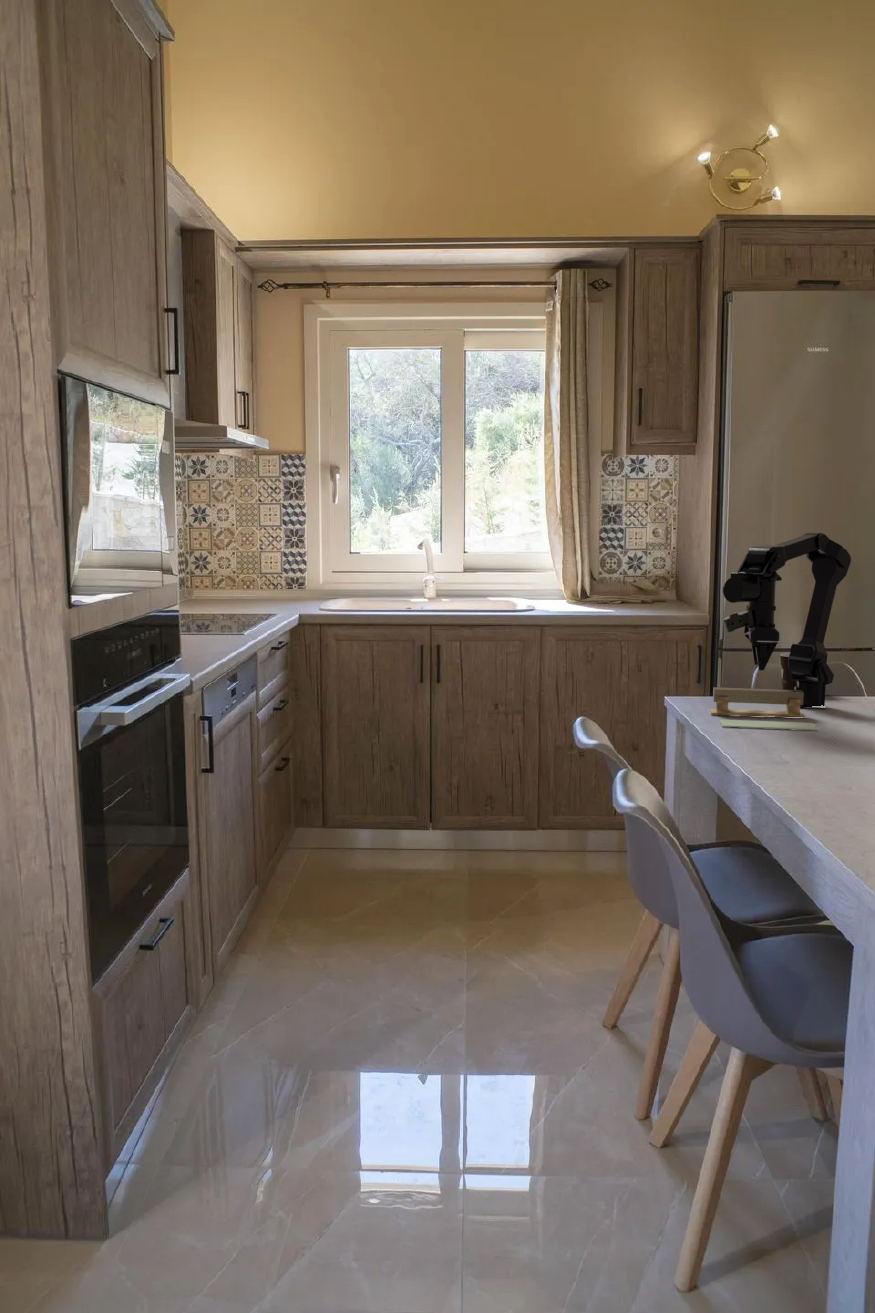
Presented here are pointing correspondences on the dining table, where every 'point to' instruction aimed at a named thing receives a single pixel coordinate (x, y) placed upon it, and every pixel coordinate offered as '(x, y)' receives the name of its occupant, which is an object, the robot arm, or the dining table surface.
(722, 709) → the rack
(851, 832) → the dining table surface
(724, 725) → the mat
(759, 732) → the dining table surface
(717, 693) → the rail
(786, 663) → the coffee mug
